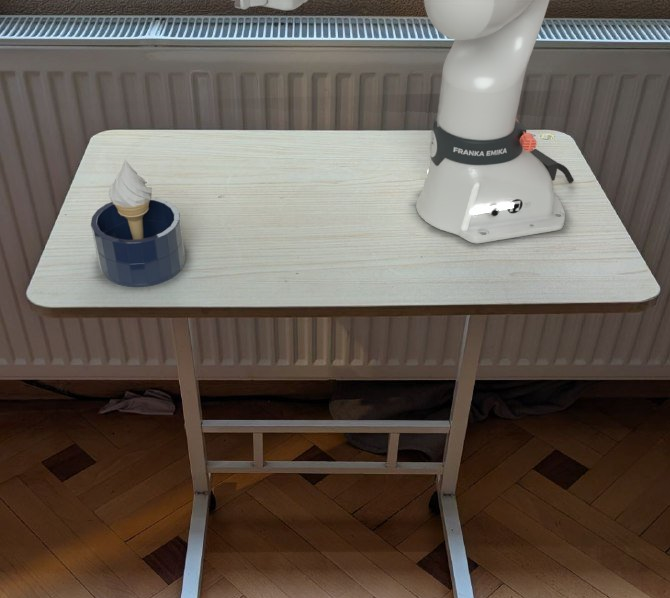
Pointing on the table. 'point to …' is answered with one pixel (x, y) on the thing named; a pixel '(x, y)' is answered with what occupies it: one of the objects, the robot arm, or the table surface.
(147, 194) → the ice cream cone
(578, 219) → the table surface
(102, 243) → the pot
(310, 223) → the table surface
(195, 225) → the table surface
